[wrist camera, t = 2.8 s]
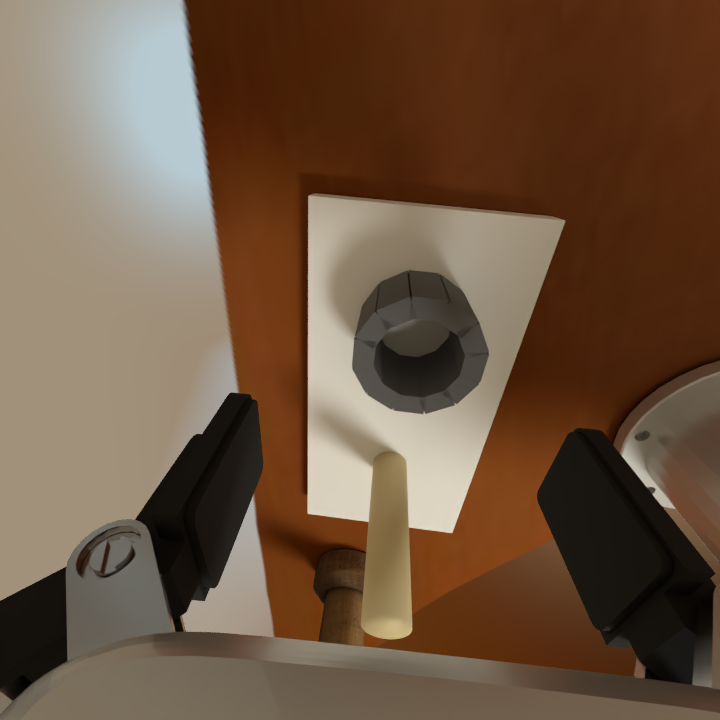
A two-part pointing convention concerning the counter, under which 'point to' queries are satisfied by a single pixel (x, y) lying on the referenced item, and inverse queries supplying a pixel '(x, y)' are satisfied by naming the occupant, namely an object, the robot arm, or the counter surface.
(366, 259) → the post board
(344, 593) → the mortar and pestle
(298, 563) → the counter surface
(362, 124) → the counter surface
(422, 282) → the ring
